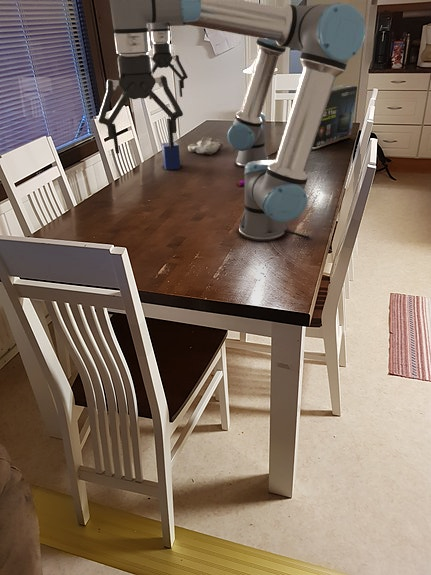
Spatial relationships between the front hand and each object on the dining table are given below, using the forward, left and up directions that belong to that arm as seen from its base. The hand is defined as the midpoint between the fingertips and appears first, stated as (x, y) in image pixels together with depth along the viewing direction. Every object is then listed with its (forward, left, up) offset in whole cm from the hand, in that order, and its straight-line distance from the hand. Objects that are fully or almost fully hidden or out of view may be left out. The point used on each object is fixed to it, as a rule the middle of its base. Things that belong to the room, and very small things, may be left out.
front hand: (144, 149), depth 115 cm
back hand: (+53, -84, -3) cm, 99 cm away
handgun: (+3, -70, -33) cm, 77 cm away
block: (+53, -84, -33) cm, 105 cm away
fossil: (+53, -114, -33) cm, 130 cm away
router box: (+2, -153, -33) cm, 157 cm away
